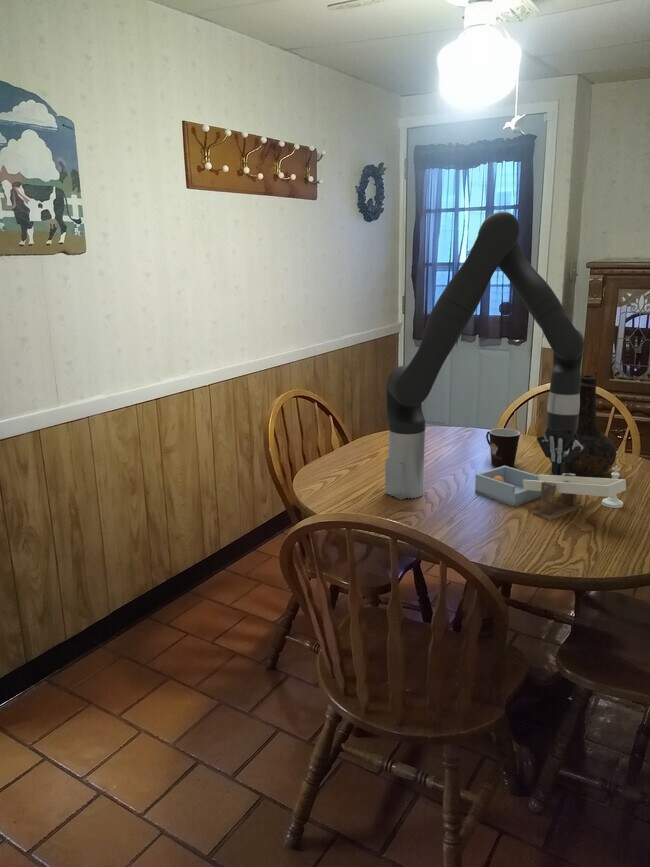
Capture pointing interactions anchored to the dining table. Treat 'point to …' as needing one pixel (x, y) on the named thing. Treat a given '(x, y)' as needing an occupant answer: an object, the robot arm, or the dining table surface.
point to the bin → (506, 485)
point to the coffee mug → (503, 446)
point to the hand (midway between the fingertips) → (557, 475)
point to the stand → (557, 509)
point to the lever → (578, 485)
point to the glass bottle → (590, 437)
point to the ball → (499, 478)
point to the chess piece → (613, 500)
